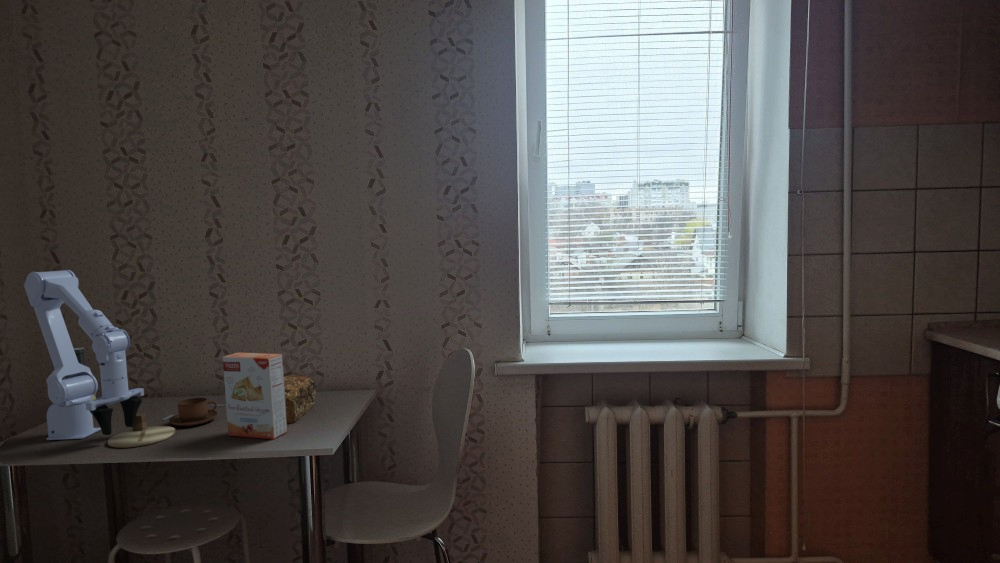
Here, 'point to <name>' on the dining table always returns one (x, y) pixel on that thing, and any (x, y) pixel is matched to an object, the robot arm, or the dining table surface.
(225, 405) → the tape mark far
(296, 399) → the bread
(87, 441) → the dining table surface
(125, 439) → the cream disc with block
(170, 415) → the tape mark left
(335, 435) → the dining table surface
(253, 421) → the cracker box
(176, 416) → the cup and saucer
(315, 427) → the dining table surface
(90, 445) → the dining table surface
